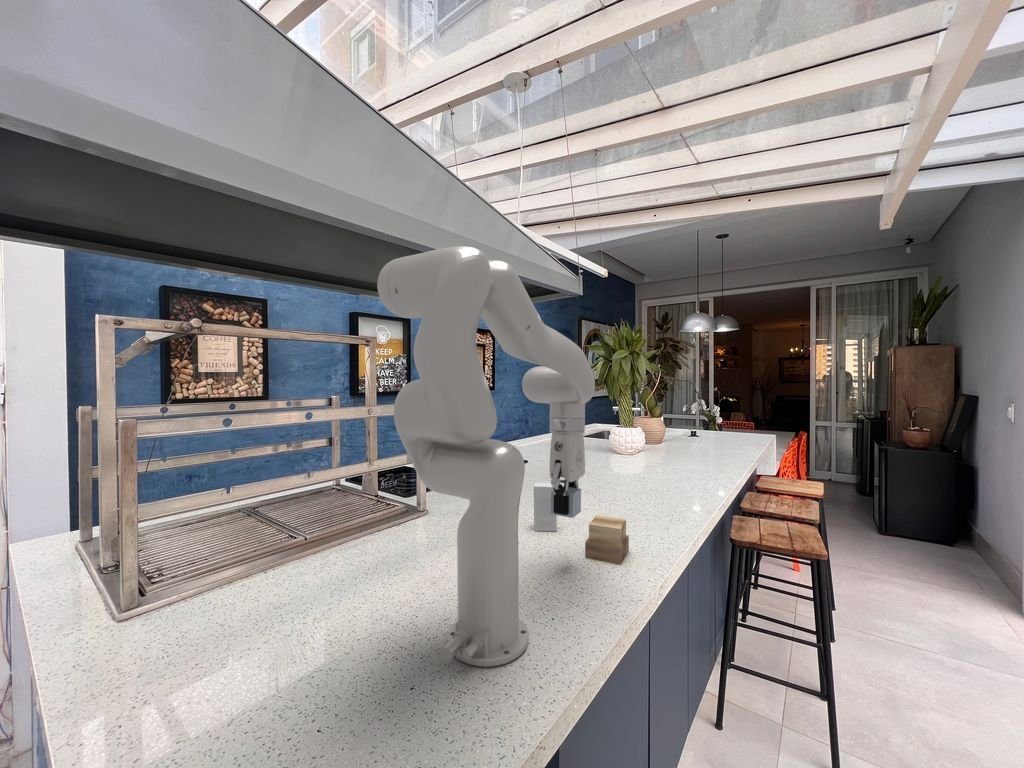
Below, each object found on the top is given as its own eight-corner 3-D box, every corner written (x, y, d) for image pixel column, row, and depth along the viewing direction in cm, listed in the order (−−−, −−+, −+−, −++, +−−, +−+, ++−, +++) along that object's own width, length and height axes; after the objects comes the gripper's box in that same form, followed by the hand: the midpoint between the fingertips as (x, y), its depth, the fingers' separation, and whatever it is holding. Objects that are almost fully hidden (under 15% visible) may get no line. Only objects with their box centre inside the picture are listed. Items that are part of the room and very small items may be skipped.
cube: (573, 517, 88) (573, 493, 88) (550, 514, 90) (551, 490, 90) (580, 511, 92) (581, 488, 92) (559, 508, 94) (559, 485, 94)
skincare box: (556, 526, 116) (556, 482, 115) (556, 532, 111) (556, 486, 111) (534, 525, 116) (534, 482, 116) (533, 531, 112) (533, 486, 112)
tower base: (620, 566, 92) (620, 548, 92) (585, 558, 96) (585, 541, 96) (628, 552, 99) (628, 535, 99) (595, 546, 103) (595, 529, 103)
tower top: (620, 546, 93) (620, 528, 93) (588, 541, 96) (588, 524, 96) (626, 535, 99) (626, 518, 99) (596, 531, 102) (596, 514, 102)
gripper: (569, 430, 82) (568, 524, 82) (595, 423, 97) (594, 503, 97) (534, 428, 85) (533, 518, 85) (564, 422, 100) (563, 498, 100)
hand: (566, 509), depth 91 cm, fingers closed on cube, 5 cm apart
